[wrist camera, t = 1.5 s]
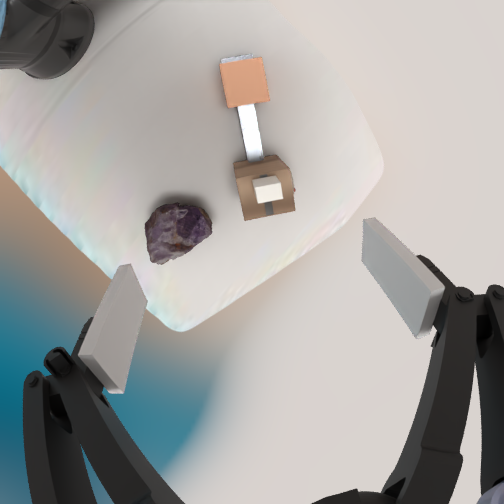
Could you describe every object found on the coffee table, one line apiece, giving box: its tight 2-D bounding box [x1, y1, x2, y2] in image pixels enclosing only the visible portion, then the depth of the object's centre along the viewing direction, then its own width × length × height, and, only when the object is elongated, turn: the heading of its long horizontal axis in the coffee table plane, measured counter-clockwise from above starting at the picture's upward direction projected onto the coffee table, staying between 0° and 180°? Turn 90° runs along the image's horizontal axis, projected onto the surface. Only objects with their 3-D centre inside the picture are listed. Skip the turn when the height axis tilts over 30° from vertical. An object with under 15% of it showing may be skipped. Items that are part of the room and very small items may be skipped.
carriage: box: [219, 57, 270, 108], centre depth 33 cm, size 6×5×9 cm
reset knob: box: [252, 175, 283, 204], centre depth 34 cm, size 2×3×4 cm, turn 100°
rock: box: [145, 203, 212, 264], centre depth 44 cm, size 12×9×10 cm
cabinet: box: [233, 155, 295, 221], centre depth 40 cm, size 6×8×10 cm
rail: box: [221, 54, 264, 163], centre depth 38 cm, size 18×4×4 cm, turn 10°
